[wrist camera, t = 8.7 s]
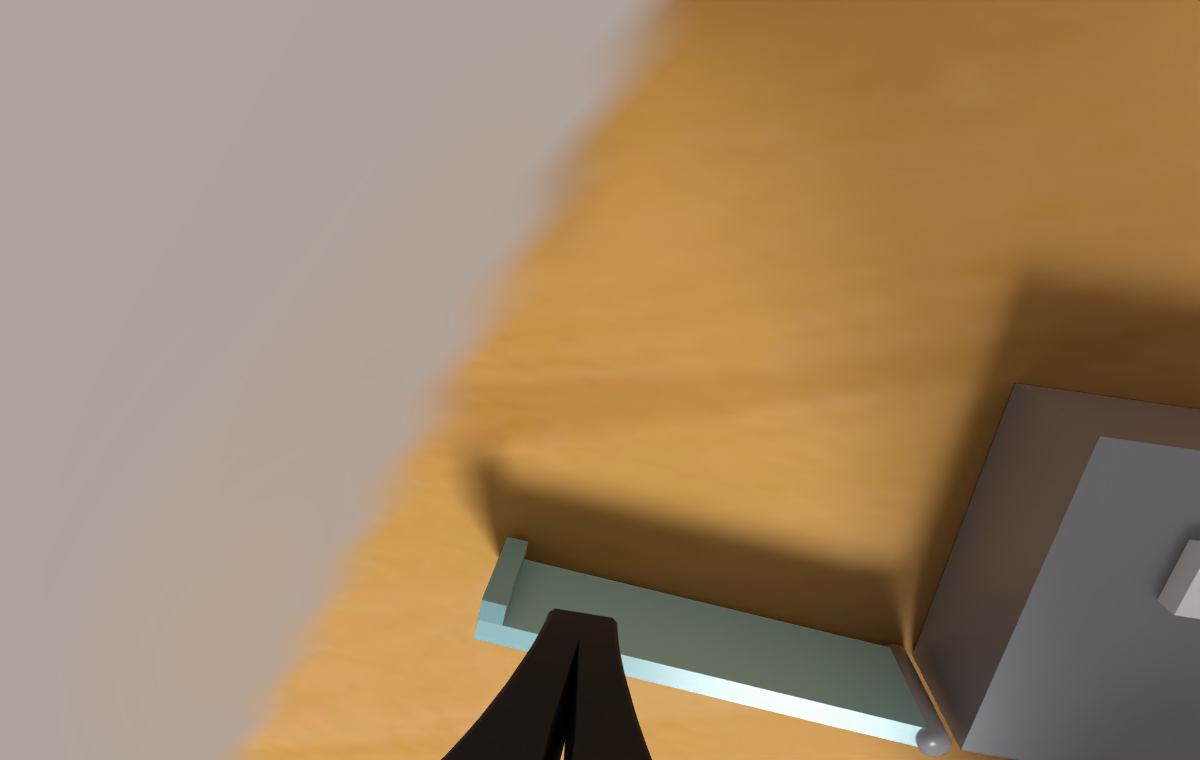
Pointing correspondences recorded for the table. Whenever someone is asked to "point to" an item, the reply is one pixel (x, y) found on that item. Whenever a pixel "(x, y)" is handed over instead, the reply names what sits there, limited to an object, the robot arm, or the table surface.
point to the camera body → (1075, 586)
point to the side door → (722, 651)
